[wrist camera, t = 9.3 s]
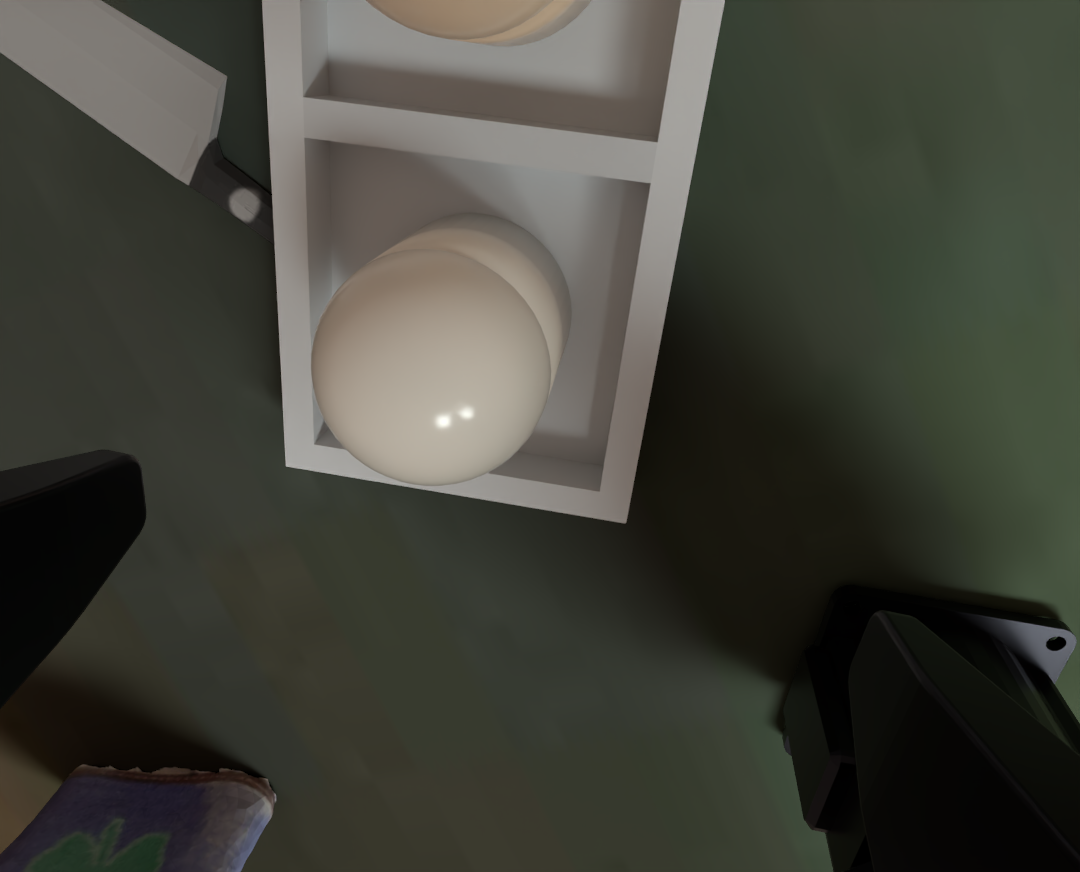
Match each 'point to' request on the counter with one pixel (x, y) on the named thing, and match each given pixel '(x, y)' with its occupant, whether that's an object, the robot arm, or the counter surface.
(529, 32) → the tan egg
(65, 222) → the counter surface
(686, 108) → the egg carton
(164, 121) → the chef's knife
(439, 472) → the cream egg
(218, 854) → the flask
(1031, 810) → the robot arm
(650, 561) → the counter surface
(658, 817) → the counter surface
